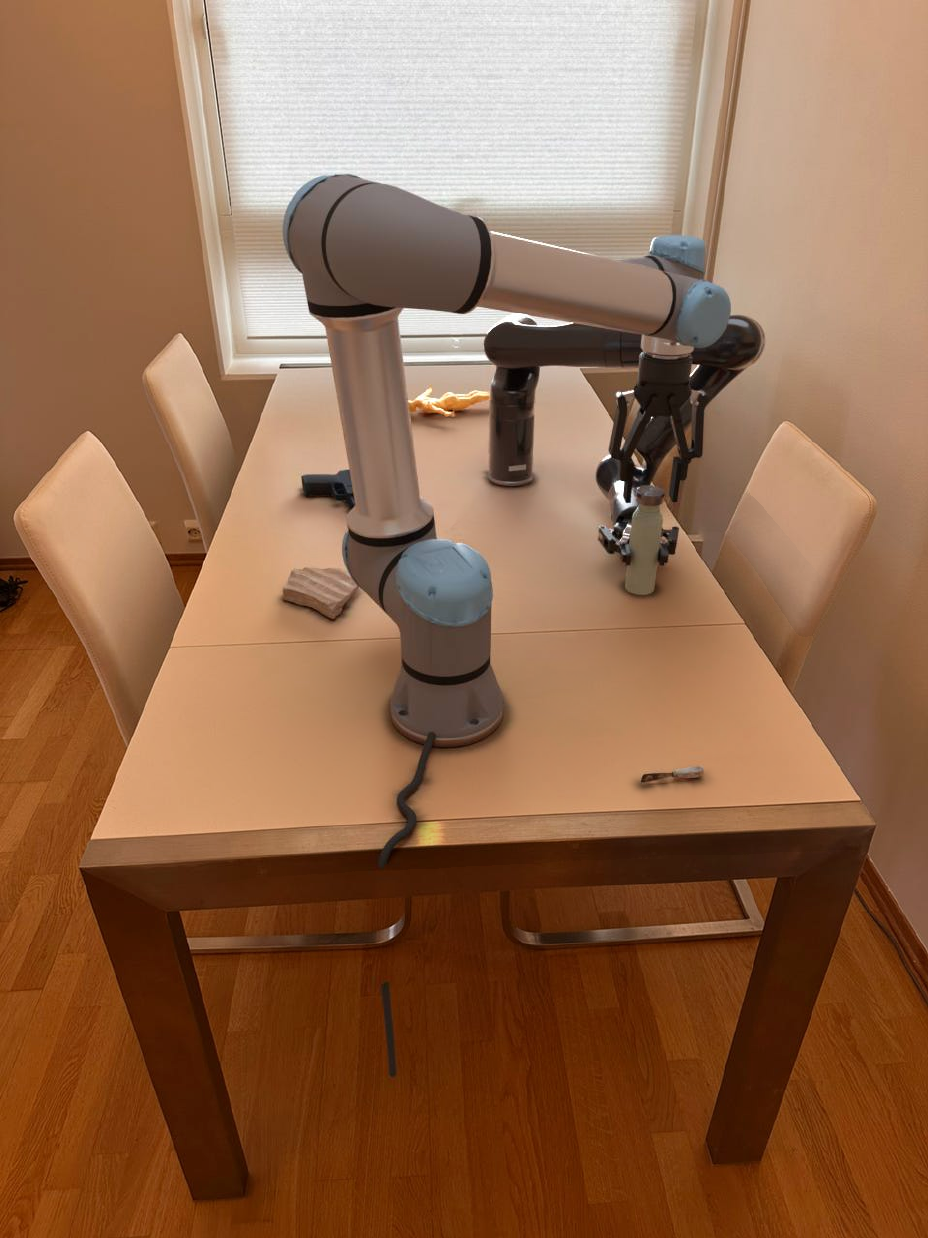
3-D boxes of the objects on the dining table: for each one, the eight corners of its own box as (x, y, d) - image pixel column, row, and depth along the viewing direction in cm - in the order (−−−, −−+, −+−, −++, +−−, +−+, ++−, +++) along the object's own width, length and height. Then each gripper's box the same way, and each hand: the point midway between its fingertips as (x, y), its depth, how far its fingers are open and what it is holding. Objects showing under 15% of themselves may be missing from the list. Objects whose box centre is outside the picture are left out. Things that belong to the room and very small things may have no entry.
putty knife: (703, 777, 109) (705, 767, 109) (642, 788, 108) (644, 777, 107) (700, 772, 110) (702, 762, 109) (639, 782, 109) (640, 771, 108)
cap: (637, 506, 139) (638, 496, 138) (634, 494, 143) (635, 484, 142) (665, 506, 139) (666, 496, 138) (661, 495, 143) (662, 485, 142)
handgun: (311, 508, 169) (373, 501, 172) (300, 472, 183) (358, 466, 186) (312, 523, 171) (374, 516, 173) (302, 487, 185) (359, 480, 188)
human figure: (395, 413, 223) (394, 398, 221) (438, 390, 237) (438, 375, 235) (462, 429, 215) (462, 413, 213) (502, 404, 229) (503, 388, 227)
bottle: (656, 583, 151) (668, 490, 142) (651, 597, 147) (663, 502, 138) (628, 578, 152) (637, 486, 143) (622, 592, 148) (632, 498, 139)
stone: (371, 585, 150) (370, 572, 149) (335, 620, 141) (334, 607, 139) (304, 572, 154) (303, 559, 153) (266, 605, 145) (264, 591, 144)
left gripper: (603, 360, 125) (591, 510, 137) (741, 358, 126) (717, 508, 138) (594, 346, 132) (584, 490, 144) (726, 344, 132) (705, 488, 144)
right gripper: (593, 495, 156) (603, 539, 142) (676, 496, 156) (693, 540, 141) (590, 533, 160) (599, 580, 146) (671, 534, 160) (687, 581, 145)
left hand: (649, 498), depth 141 cm, fingers open, 7 cm apart
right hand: (645, 560), depth 144 cm, fingers closed on bottle, 5 cm apart
